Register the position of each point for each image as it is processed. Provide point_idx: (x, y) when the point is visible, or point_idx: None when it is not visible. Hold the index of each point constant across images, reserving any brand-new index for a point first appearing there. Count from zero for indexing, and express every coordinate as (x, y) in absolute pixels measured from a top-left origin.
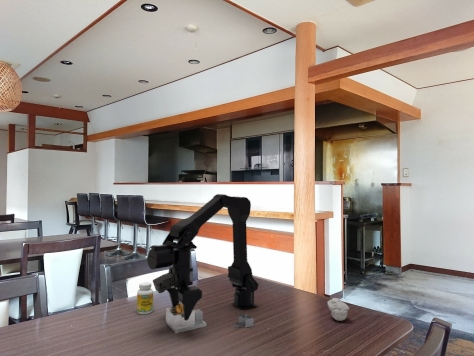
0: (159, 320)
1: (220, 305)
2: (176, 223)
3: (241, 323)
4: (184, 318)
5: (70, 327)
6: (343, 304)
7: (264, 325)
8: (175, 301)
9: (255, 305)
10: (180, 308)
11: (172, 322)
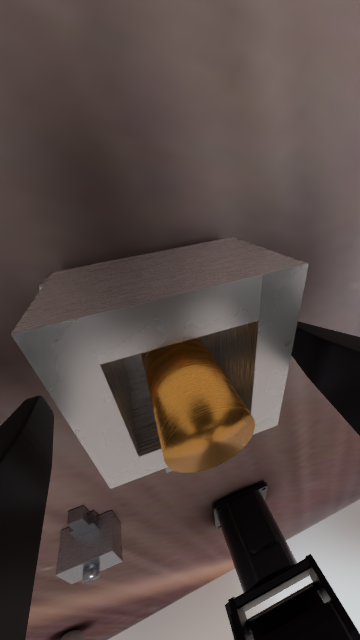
0: (300, 202)
1: (279, 455)
2: None
3: (79, 533)
4: (22, 409)
5: None
6: None
7: None
8: (349, 382)
9: (216, 527)
10: (160, 424)
11: (82, 280)
